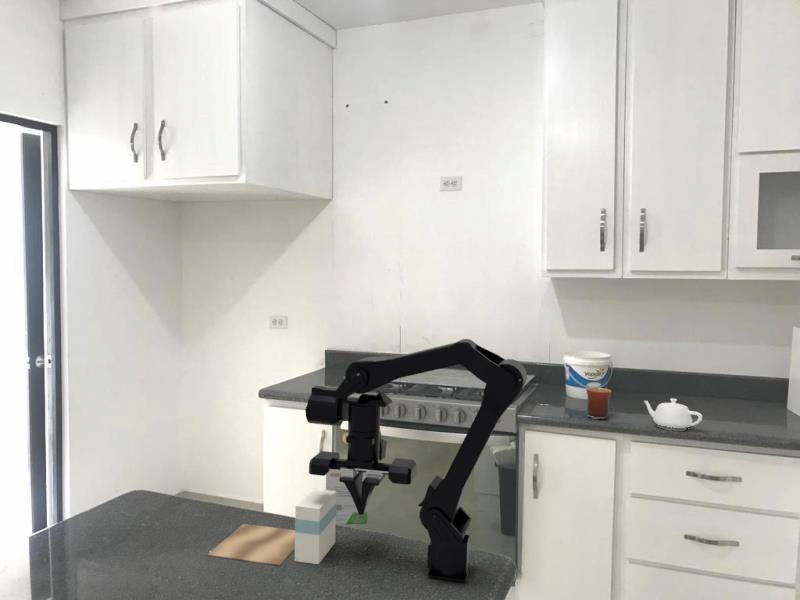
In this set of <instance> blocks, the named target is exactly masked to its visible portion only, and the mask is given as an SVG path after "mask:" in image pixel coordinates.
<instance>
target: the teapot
mask: <svg viewBox="0 0 800 600" xmlns="http://www.w3.org/2000/svg"><path fill="white" fill-rule="evenodd" d="M670 401H671V402H660V403H659V404H658V405H657V406H656V408H655V410H653V408H652V406H651V404H650V403H649V401H648V400H643V403H644V404H645V406H646V408H647V410H648V413H649V415H650V416H651V418H652V419H653V422H655V423H656V424H658V425H661V426H667V427H671V428H672V427H673V428H685V427H690V426H691V427H692V426H697V425H698V424H700V423H701V422H702V421H703V414H701V412H698V411H693V410H690V409H689V407H688V406H687V405H684V404H680V403H677V401H678V399H677V398H670ZM692 415H693V416H697V417H698V418H697V420H696V421H694V420H693V418H692ZM655 423H654V424H655ZM656 424H655V425H656ZM691 427H690V428H691Z"/></svg>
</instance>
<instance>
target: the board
mask: <svg viewBox="0 0 800 600" xmlns="http://www.w3.org/2000/svg"><path fill="white" fill-rule="evenodd" d="M293 552H295V529H288V528H280V527H272V526H263V525H256V524H248V523H247V524H246V523H242V525H240V526H239V527H238V528H237V529H235V531H233V532H232V533H231V534H230V535H229V536H228V537H226V538H225V539H224V540H223V541H221V543H219V544H218V545H217V546H216V547H215V548H213V549H212V550H211V551H210V552H208V553H207V554H206V556H208V557H216V558H220V559H221V558H222V559H227V560H228V559H230V560H235V561H243V562H249V563H250V562H251V563H256V564H257V563H258V564H264V565H273V566H279V567H281V565H282V564H283V563H284V562H285V561H286V560H287V559H288V558H289V556H290V555H291V554H292V553H293Z"/></svg>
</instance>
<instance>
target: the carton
mask: <svg viewBox="0 0 800 600" xmlns="http://www.w3.org/2000/svg"><path fill="white" fill-rule="evenodd" d="M294 514H295V517H294V530H295V549H294V562H300V563H306V564H315V565H320V563H321V562H322V561H323V560H324V558H325V557H326V556H327V554H328V553H329V551H330V550H331V549H332V548H333V546H334V545H335V544H336V491H330V490H326V489H320V488H313V489H312V490H311V491H310V492H309V493H308V494H307V495H306V496H305V497H304V498H302V499H301V501H299V502H298V503H297V504H296V505H295V513H294Z"/></svg>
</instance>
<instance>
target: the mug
mask: <svg viewBox="0 0 800 600" xmlns="http://www.w3.org/2000/svg"><path fill="white" fill-rule="evenodd" d="M585 391H586V395H587V406H586V407H587V408H586V412H587V413H586V414H587V416H588V415H590V416H594V417H606V416H608V417H609V413H610V398H611V394H612V391H613V390H611V389H608V388H603V387H587V388H586V389H585Z"/></svg>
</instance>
